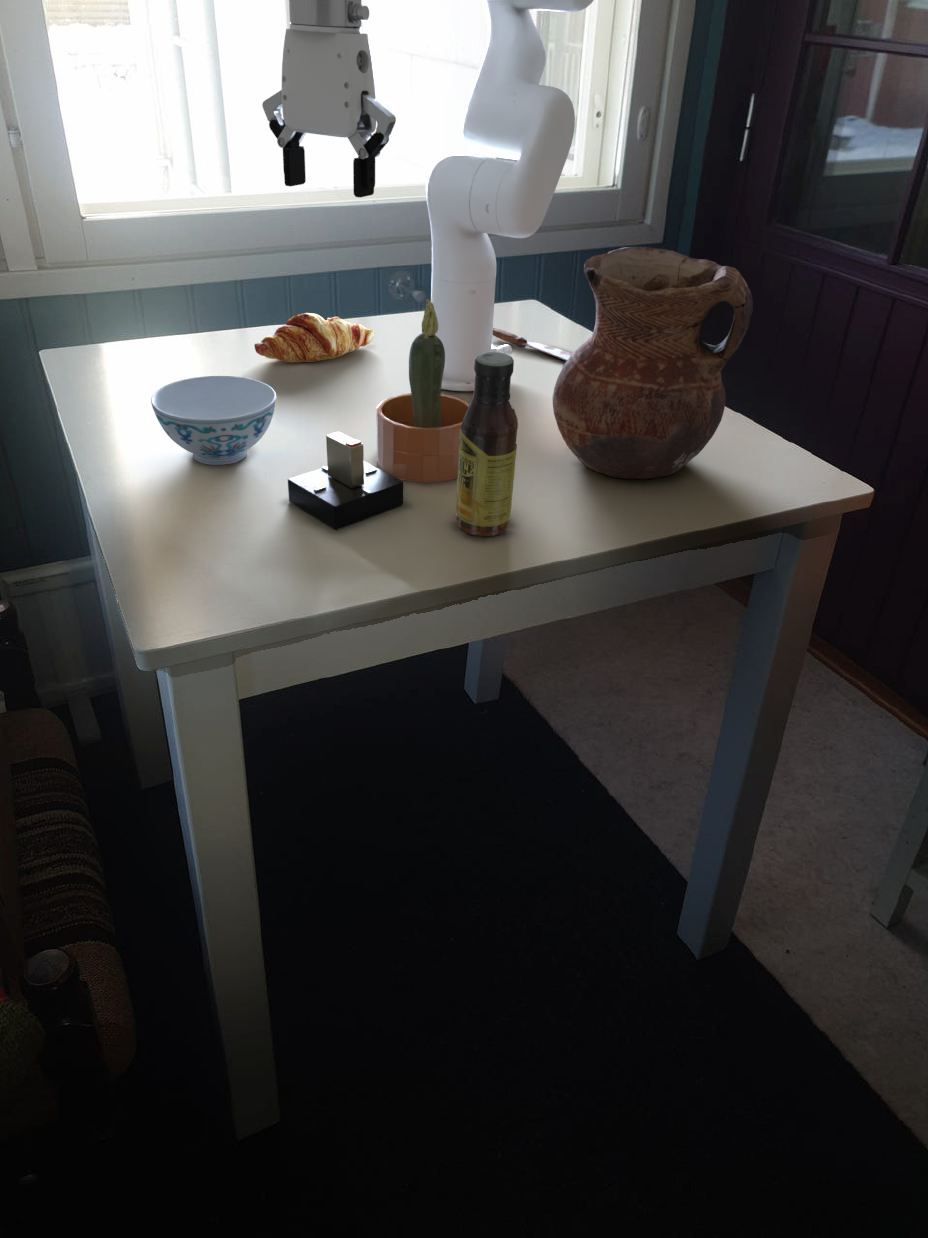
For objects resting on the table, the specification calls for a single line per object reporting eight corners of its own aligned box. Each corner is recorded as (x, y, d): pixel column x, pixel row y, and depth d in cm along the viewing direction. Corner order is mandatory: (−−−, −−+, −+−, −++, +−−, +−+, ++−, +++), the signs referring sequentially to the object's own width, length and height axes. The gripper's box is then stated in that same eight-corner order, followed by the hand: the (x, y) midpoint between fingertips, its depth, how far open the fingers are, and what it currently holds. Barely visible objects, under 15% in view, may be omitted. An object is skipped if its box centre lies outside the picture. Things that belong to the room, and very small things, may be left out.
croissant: (364, 359, 166) (353, 312, 164) (392, 346, 157) (381, 297, 156) (250, 377, 155) (237, 327, 153) (274, 365, 146) (260, 311, 145)
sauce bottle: (453, 513, 112) (460, 345, 101) (506, 513, 113) (519, 346, 102) (457, 541, 107) (465, 366, 96) (513, 541, 107) (527, 367, 96)
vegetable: (437, 468, 121) (441, 308, 110) (404, 464, 122) (405, 305, 111) (445, 454, 125) (450, 298, 114) (412, 450, 126) (414, 295, 115)
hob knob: (327, 475, 112) (325, 433, 109) (339, 471, 113) (338, 429, 110) (351, 488, 109) (350, 446, 107) (364, 484, 111) (363, 442, 108)
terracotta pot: (428, 435, 131) (429, 385, 127) (491, 465, 124) (495, 413, 120) (357, 458, 124) (356, 406, 120) (420, 491, 116) (421, 437, 113)
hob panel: (356, 479, 119) (355, 455, 117) (403, 504, 113) (403, 480, 112) (288, 502, 113) (287, 477, 111) (335, 530, 107) (334, 505, 106)
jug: (567, 496, 117) (591, 286, 103) (530, 429, 134) (547, 241, 120) (739, 490, 120) (785, 286, 107) (682, 425, 138) (714, 242, 124)
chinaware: (178, 428, 129) (170, 372, 125) (289, 434, 129) (286, 378, 125) (144, 476, 117) (134, 416, 113) (267, 482, 117) (262, 422, 112)
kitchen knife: (600, 359, 158) (582, 362, 155) (598, 369, 159) (580, 372, 156) (507, 324, 170) (487, 325, 167) (505, 333, 171) (486, 335, 167)
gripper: (413, 21, 101) (409, 196, 111) (282, 11, 108) (289, 177, 117) (373, 19, 96) (373, 204, 105) (238, 10, 102) (249, 184, 112)
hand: (329, 190), depth 111 cm, fingers open, 9 cm apart
